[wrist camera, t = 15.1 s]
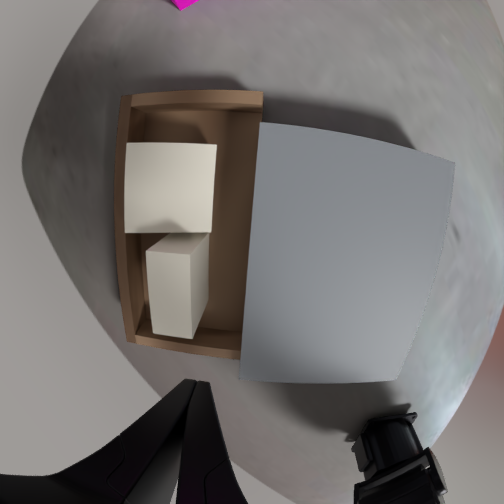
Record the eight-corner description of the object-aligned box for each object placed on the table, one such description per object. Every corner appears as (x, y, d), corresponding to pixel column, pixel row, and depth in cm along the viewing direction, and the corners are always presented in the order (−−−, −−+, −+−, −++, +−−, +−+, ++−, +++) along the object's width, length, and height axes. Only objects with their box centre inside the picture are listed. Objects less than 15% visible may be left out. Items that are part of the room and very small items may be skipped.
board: (423, 161, 16) (455, 162, 13) (380, 350, 21) (395, 379, 17) (261, 132, 17) (259, 122, 13) (243, 346, 21) (238, 379, 17)
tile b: (190, 254, 13) (145, 251, 13) (192, 339, 15) (153, 333, 15) (209, 231, 18) (174, 229, 18) (208, 299, 20) (176, 296, 20)
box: (263, 103, 16) (263, 91, 13) (243, 336, 21) (240, 359, 18) (140, 104, 16) (121, 96, 13) (141, 321, 21) (127, 341, 18)
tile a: (126, 142, 13) (132, 145, 15) (124, 233, 14) (130, 224, 16) (216, 144, 14) (210, 147, 16) (211, 232, 16) (205, 223, 18)
